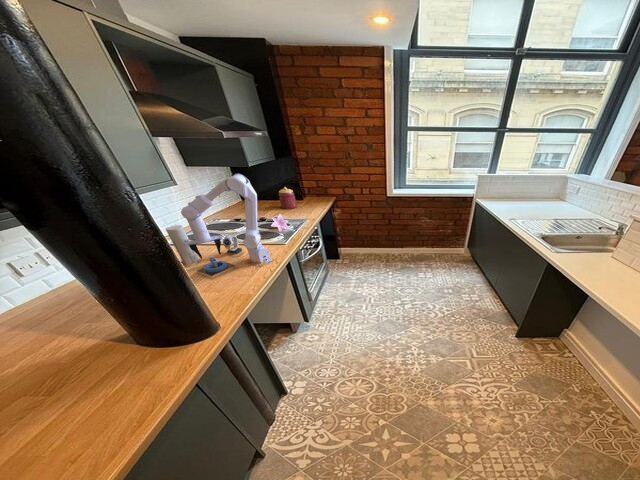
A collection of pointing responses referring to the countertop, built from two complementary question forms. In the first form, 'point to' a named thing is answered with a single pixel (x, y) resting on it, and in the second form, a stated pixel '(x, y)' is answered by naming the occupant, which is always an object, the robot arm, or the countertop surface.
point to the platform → (215, 267)
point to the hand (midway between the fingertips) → (210, 255)
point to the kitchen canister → (287, 198)
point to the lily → (280, 223)
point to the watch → (228, 243)
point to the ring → (223, 266)
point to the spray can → (181, 244)
